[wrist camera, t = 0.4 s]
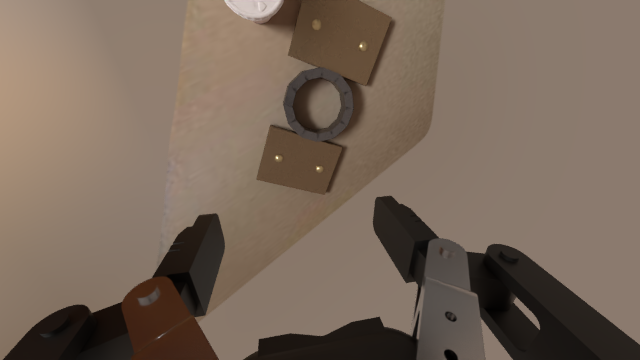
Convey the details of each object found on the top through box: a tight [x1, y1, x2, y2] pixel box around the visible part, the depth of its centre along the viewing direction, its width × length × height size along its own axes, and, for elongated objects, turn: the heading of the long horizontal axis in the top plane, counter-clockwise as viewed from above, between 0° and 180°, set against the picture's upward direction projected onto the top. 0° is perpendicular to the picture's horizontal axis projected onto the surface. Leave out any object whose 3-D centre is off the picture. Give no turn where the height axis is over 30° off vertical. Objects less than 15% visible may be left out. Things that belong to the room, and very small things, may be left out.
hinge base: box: [257, 0, 392, 195], centre depth 34 cm, size 28×12×2 cm, turn 161°
